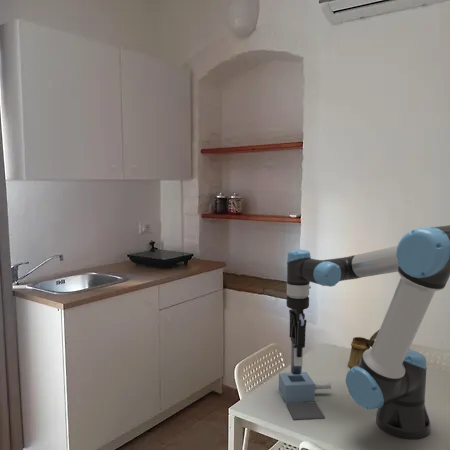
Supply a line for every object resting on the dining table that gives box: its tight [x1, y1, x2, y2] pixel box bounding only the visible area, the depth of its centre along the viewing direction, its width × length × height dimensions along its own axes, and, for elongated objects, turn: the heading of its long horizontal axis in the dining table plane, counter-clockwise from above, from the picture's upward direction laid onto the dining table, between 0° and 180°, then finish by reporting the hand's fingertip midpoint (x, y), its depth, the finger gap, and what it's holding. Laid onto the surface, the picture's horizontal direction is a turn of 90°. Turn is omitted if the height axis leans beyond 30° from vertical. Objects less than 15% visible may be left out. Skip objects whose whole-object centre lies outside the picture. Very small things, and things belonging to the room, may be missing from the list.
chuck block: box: [278, 371, 332, 404], centre depth 155 cm, size 10×17×6 cm, turn 96°
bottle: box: [290, 337, 303, 375], centre depth 153 cm, size 4×4×12 cm
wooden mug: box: [347, 328, 380, 369], centre depth 177 cm, size 9×14×18 cm, turn 45°
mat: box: [285, 401, 326, 421], centre depth 144 cm, size 10×10×1 cm
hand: (296, 362), depth 154 cm, fingers closed on bottle, 4 cm apart
